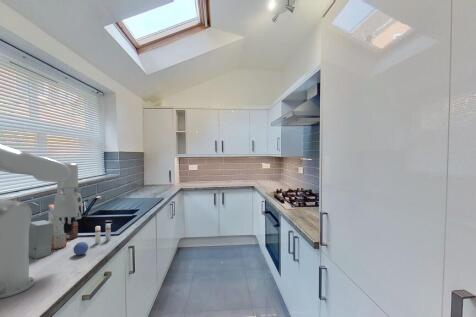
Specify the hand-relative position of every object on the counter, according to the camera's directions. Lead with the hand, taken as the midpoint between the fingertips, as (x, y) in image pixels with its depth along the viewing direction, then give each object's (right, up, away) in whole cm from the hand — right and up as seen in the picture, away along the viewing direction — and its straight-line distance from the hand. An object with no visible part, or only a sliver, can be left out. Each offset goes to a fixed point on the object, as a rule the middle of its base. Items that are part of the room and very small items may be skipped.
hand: (68, 232), depth 106 cm
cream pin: (-1, -14, +24) cm, 28 cm away
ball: (-1, -11, +9) cm, 14 cm away
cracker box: (-21, -14, +22) cm, 33 cm away
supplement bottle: (-21, -13, +32) cm, 40 cm away
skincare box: (-20, -14, +9) cm, 26 cm away
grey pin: (+2, -14, +29) cm, 32 cm away
